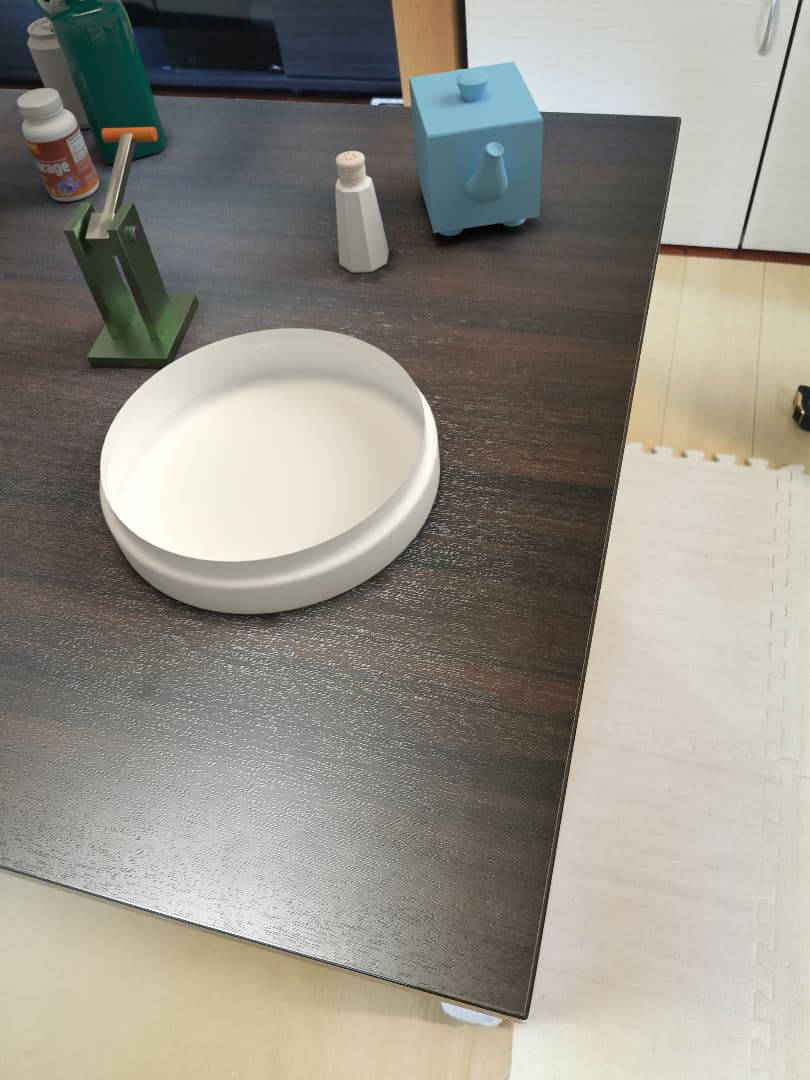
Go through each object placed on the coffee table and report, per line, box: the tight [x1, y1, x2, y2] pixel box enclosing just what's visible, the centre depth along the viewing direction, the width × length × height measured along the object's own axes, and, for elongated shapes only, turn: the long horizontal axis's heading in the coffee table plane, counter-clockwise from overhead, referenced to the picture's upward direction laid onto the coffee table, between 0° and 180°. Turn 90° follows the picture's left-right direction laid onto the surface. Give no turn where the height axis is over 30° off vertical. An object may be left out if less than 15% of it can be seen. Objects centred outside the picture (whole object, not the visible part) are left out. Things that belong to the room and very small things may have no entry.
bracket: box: [62, 201, 200, 369], centre depth 78 cm, size 10×8×13 cm
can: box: [26, 16, 90, 130], centre depth 110 cm, size 8×8×12 cm
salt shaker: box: [334, 150, 390, 274], centre depth 84 cm, size 5×5×11 cm
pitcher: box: [31, 0, 168, 165], centre depth 100 cm, size 10×8×22 cm
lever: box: [86, 127, 157, 257], centre depth 76 cm, size 13×5×2 cm, turn 172°
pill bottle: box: [16, 87, 100, 203], centre depth 98 cm, size 6×6×11 cm
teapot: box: [408, 61, 544, 237], centre depth 86 cm, size 22×11×14 cm, turn 7°
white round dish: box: [99, 327, 441, 615], centre depth 67 cm, size 27×27×6 cm
